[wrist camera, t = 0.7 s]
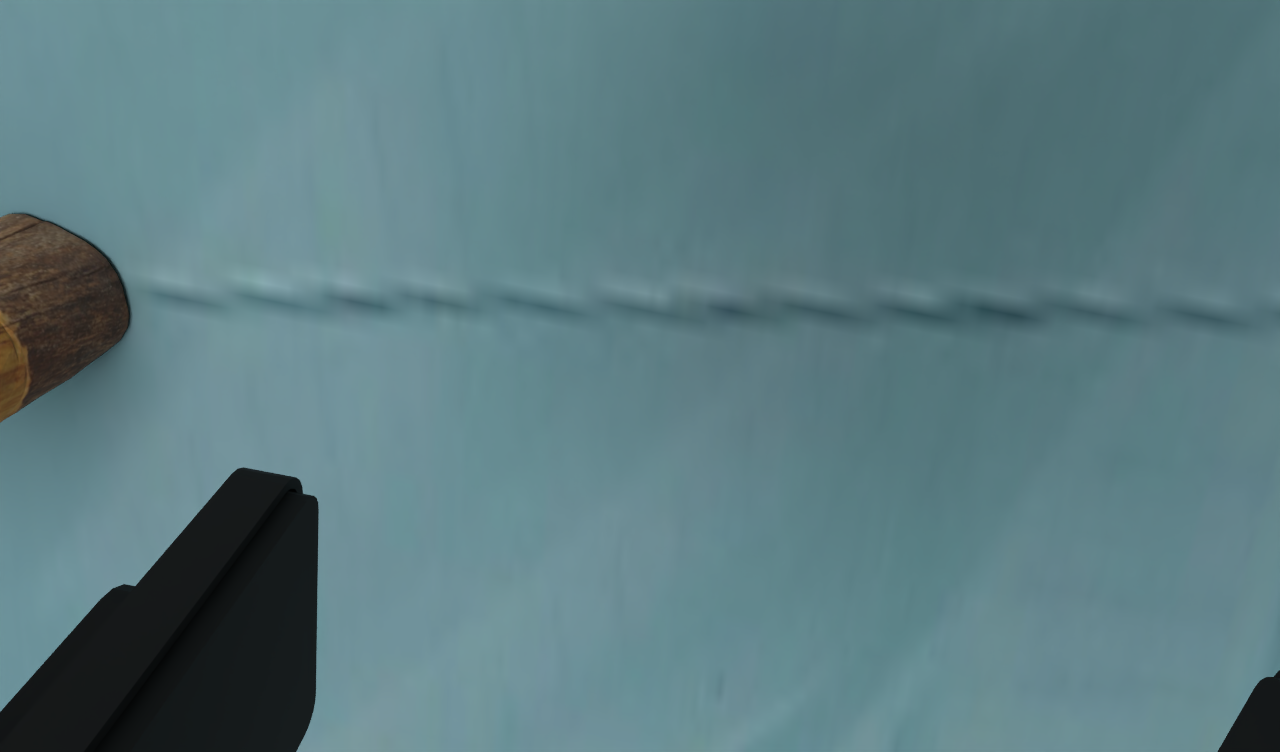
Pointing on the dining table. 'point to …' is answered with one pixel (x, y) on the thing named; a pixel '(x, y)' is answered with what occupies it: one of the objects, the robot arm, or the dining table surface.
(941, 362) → the dining table surface
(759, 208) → the dining table surface
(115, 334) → the sculpture
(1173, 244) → the dining table surface
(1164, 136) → the dining table surface
